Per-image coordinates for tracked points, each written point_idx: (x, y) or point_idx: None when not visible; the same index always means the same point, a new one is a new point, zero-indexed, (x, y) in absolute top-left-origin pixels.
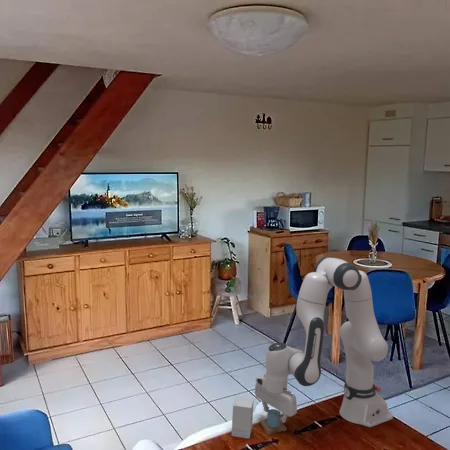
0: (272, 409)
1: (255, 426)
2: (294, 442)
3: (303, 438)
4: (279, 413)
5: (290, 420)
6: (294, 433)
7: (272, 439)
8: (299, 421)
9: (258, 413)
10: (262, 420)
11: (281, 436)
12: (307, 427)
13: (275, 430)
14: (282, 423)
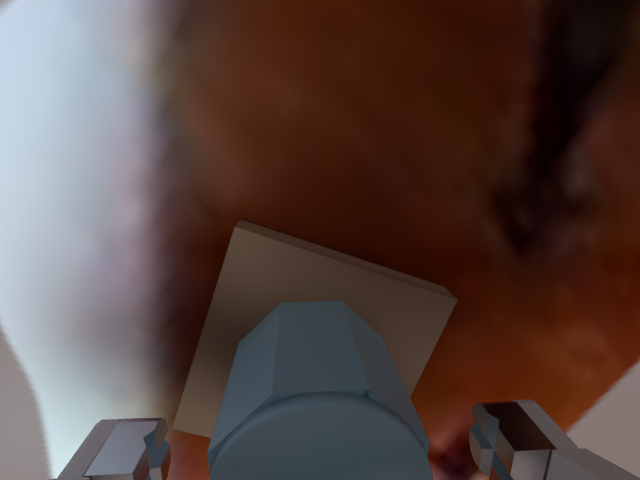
0: (230, 467)
1: (206, 466)
2: (598, 353)
3: (632, 243)
4: (410, 452)
5: (337, 90)
6: (524, 253)
7: (440, 465)
8: (425, 5)
9: (7, 303)
10: (189, 413)
11: (466, 383)
12: (568, 33)
13: None
14: (368, 277)
